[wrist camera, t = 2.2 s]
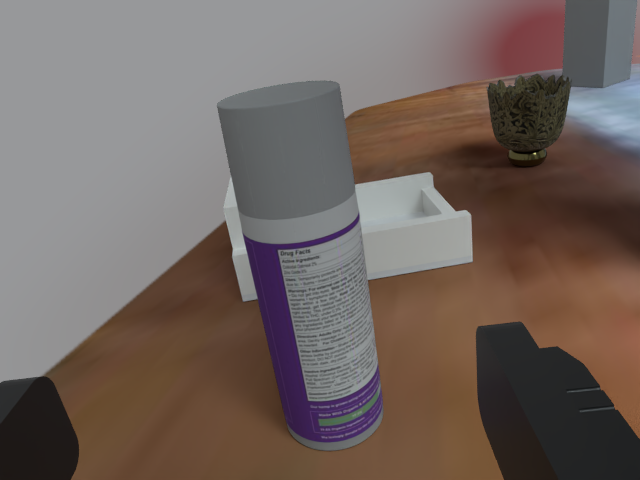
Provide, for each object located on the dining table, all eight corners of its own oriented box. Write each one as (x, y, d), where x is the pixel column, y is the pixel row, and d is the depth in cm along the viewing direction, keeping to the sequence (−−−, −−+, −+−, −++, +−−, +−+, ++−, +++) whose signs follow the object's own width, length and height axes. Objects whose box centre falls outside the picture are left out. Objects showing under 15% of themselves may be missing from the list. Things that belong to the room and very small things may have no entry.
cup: (508, 180, 49) (508, 93, 46) (476, 160, 56) (474, 83, 52) (583, 165, 50) (589, 79, 46) (542, 147, 56) (545, 70, 53)
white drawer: (431, 210, 45) (427, 136, 42) (472, 261, 36) (469, 171, 33) (248, 242, 45) (232, 169, 42) (243, 301, 36) (221, 214, 33)
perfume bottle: (629, 78, 80) (642, -55, 73) (603, 87, 77) (613, -50, 70) (588, 77, 86) (596, -47, 78) (561, 85, 83) (567, -43, 75)
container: (277, 396, 27) (208, 97, 20) (364, 369, 27) (322, 75, 21) (298, 465, 22) (219, 116, 16) (400, 431, 23) (361, 88, 17)
